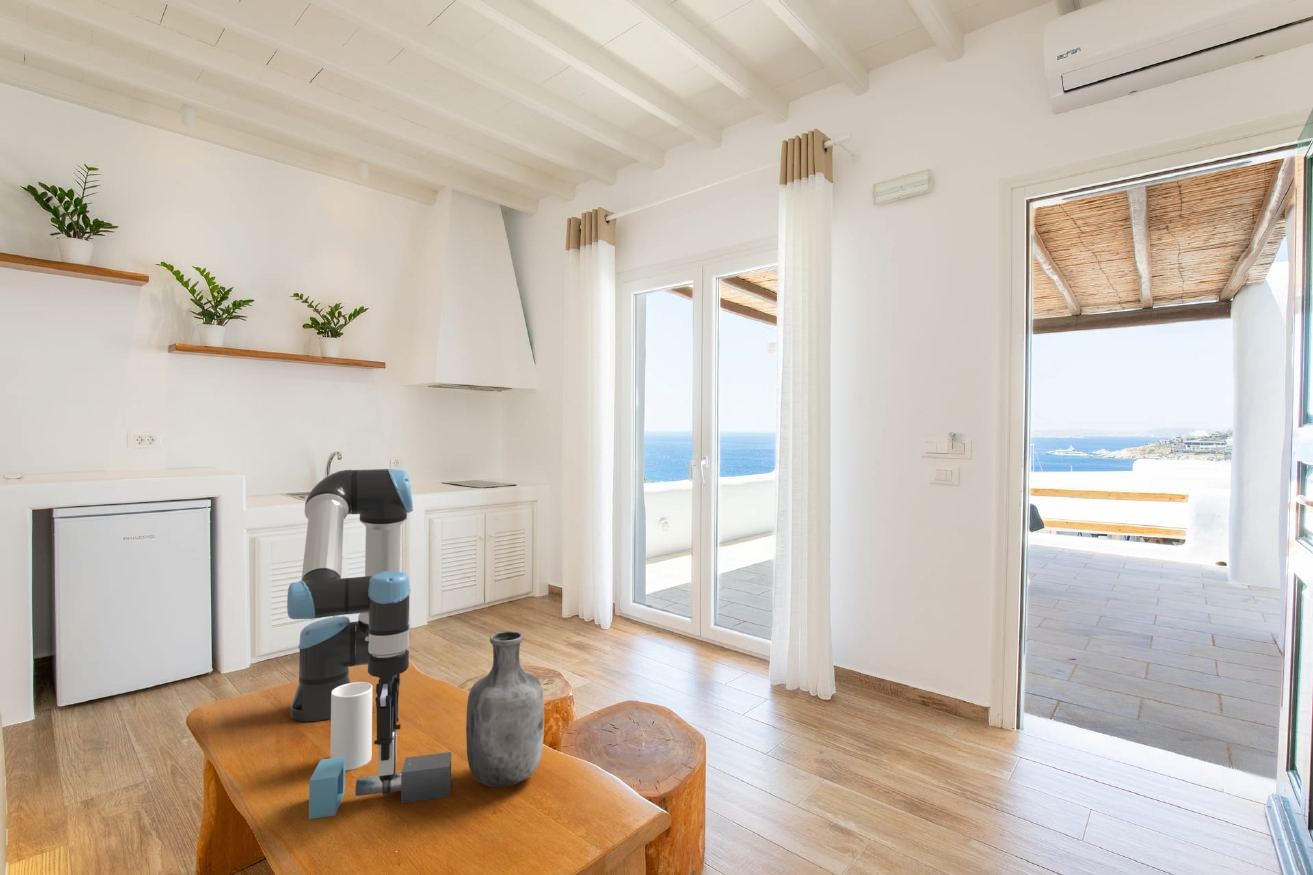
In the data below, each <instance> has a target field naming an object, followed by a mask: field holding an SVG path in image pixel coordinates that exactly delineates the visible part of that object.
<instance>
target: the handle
mask: <svg viewBox="0 0 1313 875" xmlns="http://www.w3.org/2000/svg"><path fill="white" fill-rule="evenodd" d="M396 731H397V730H396V729H394V728H393V739H394V772H393V774H392V775H384V776H378V774H377V775H371V776H364V777H363V776H361V777H357V778H356V782H355V790H354V792H355V794H354V795H355V797H361V796H367V795H369V796H370V795H375V794H382V796H385V795H390V794H391V792H399V791H401V772H402V771H401V772H396V768H397V767H396V765H397V748H396Z"/></svg>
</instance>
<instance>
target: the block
mask: <svg viewBox="0 0 1313 875" xmlns="http://www.w3.org/2000/svg"><path fill="white" fill-rule="evenodd" d="M451 786H452V751H446V752H440V753H439V752H438V753H432V754H431V753H430V754H424V755H416V756H407V757H405V759H404V762H403V765H402V769H401V790H400V804H405V803H406V804H407V803H412V802H413V803H414V802H415V803H416V802H420V801H427V800H429V801H430V800H435V799H436V800H437V799H442V798H449V797H450V794H451Z"/></svg>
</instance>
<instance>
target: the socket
mask: <svg viewBox="0 0 1313 875" xmlns="http://www.w3.org/2000/svg"><path fill="white" fill-rule="evenodd" d="M308 785H309V787H308V788H309V789H308V820H312V819H313V820H314V819H318V818H326V817H333V816H336V815H337V813H338V810H339V808H340V805H341V802H342V800H343V799H344V795H345V793H346V771H345V757H340V758H332V759H330V758H325V759H319V762H318V764H317V766H316V768H315V770H314V771H313V774H312V775H311V777H310V779H309V782H308Z"/></svg>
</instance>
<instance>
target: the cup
mask: <svg viewBox="0 0 1313 875" xmlns="http://www.w3.org/2000/svg"><path fill="white" fill-rule="evenodd" d="M372 739H373V685H372V683H369V682H366V681H365V682H364V681H355V682H351V683H348V684H344V685H341V686H339V687H337V688H335V689H333V690H332V692H331V718H330V754H329V756H330V758H329V759H332V758H340V757H345V772H346V771H353V770H356V769H359V768H361V767H364V766H365V765H367V764H368V763H370V761H372V758H373V756H372V754H373V753H372V752H373V749H372V748H373V747H372V746H373V744H372V743H373V740H372Z"/></svg>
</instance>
